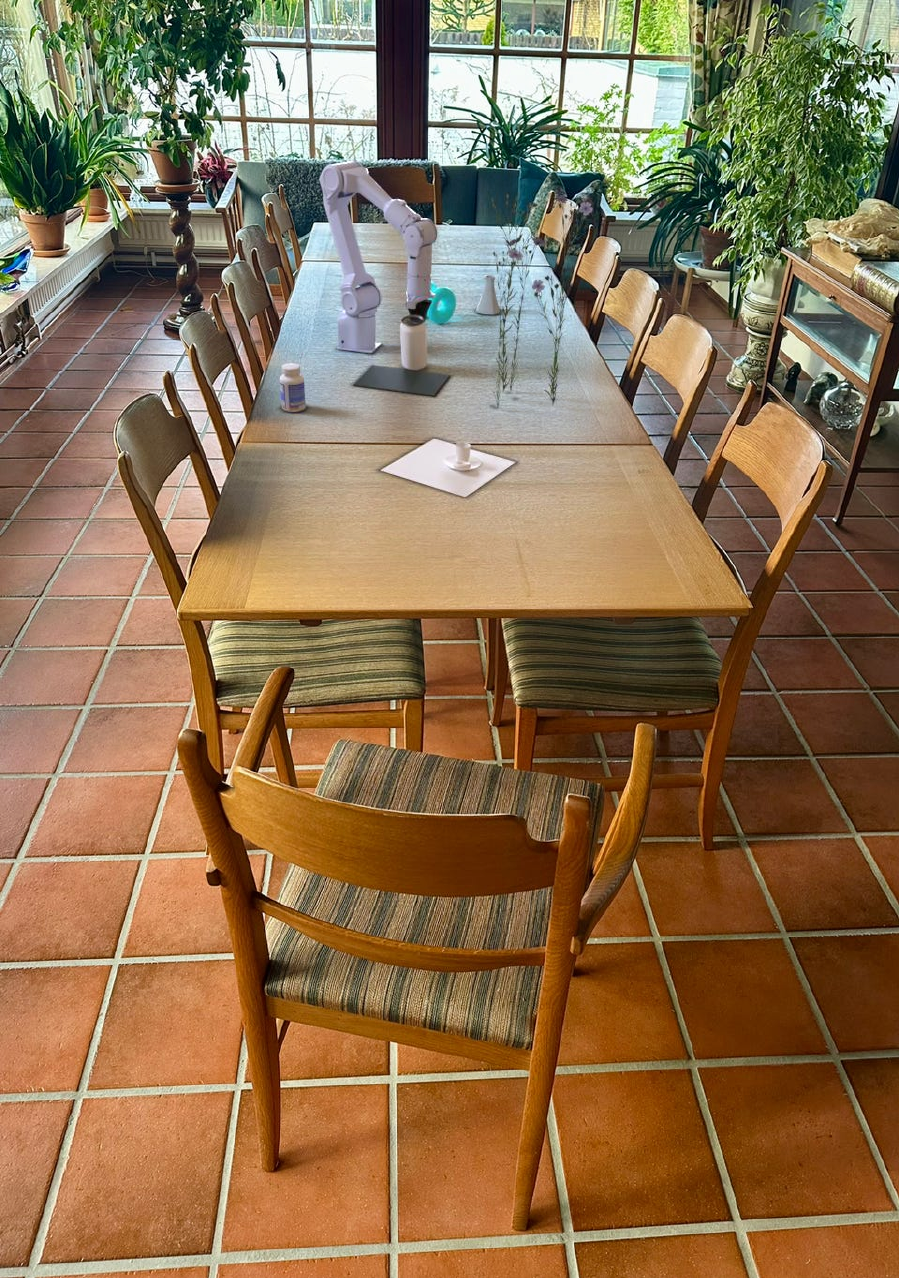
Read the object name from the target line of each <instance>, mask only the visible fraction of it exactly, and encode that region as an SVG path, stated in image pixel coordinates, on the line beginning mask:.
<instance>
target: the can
mask: <svg viewBox="0 0 899 1278" xmlns="http://www.w3.org/2000/svg"><path fill="white" fill-rule="evenodd" d="M400 321H401V323H400V325H399V337H400V358H401V365H402V367H403V369H405V370H412V371H420V370H423V369H424V368H426V367H427V365H428V334H427V324H426V321H425V322H424V318H423V317H422V316H419V315H410V314H407V315H405V316H403V317H402V318H401V320H400Z"/></svg>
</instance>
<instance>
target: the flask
mask: <svg viewBox="0 0 899 1278" xmlns="http://www.w3.org/2000/svg"><path fill="white" fill-rule="evenodd" d="M484 280H485V283H484V287H483V291H482V294H481V296H480V299H479V301H478V304H477V306H476V310H475V312H476V313H479V314H481V315H497V314H500V312H499V310H500V308H499V307H500V304H499V301H498V296H497V293H496V288H495V280H496V276H495V275H492V274H490V275H489V274H486V275H484Z"/></svg>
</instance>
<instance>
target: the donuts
mask: <svg viewBox="0 0 899 1278" xmlns="http://www.w3.org/2000/svg"><path fill="white" fill-rule="evenodd" d="M431 293H435V297H434V298H429V300H432V303H431V305H430V307H429V309H428V312H427V315H426V318H429V320H430V321H431V322H432V323H434V324H441V325H442V324H444V323H447V322H448V321H449V320H450V319H451V318H453V315H454V313H455V311H456V306H457V298H456V295H455V293H454V291H453V290H452V289H451V288H449V287H447V286H439V287H438V286H437V284H435V282H433V281H431ZM440 303H441V304H440ZM439 304H440V306H439Z"/></svg>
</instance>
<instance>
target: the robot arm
mask: <svg viewBox="0 0 899 1278" xmlns="http://www.w3.org/2000/svg"><path fill="white" fill-rule="evenodd" d="M318 179H319V183H320V186H321V187H320V188H321V190H322V196H323V197H322V199H323V201H322V202H323V208H324V210H325V214H326V218H327V221H328V224H329V228H330V231H331V235H332V238H333V242H334V245H335V249H336V253H337V255H338V259H339V263H340V266H341V270H342V273H343V277H344V278H343V280H342V282H341V284H340V286H339V291H340V304H341V307H342V309H343V311H341V312H340V313H339V315H338V319H337V347H336V349H337V350H342V351H347V352H355V353H356V352H357V353H364V354H373V353H374V352H375V351H376V350H377V349H378V348H379V347H380V346H381V342H378V341H376V340H377V338H376V336H377V334H376V331H377V330H376V329H377V328H376V324H377V323H376V321H377V320H376V317H377V315H376V314H377V312H378V308H379V307H380V305H381V304H382V301H383V296H382V292H381V290H380V288H379V287H378V285H377V284H376V281H375V278H374V276H372V275H371V274H370V273H368V272H367V271H366V269H365V264H364V262H363V261H364V260H363V257H362V255H361V250H360V246H359V244H358V240H357V236H356V233H355V229H354V225H353V222H352V218H351V215H350V211H349V207H348V206H349V204H350V202H351V200H352V198H353V197H354V195H356V194H360V195H361V196H363V197H364V198H365V199H367V200H368V201H369V202H371V203H372V204H373V205H374V206H376V207H377V208H379V209H380V210H381V211H382V212H383V218H384V221H386V222H387V223H388V224H389V225H390V226H392V227H393V229H395V230H396V231H397V232H398V233H399V234H400V235H402V239H403V242H404V244H405V248H406V253H407V283H406V284H407V291H406V299H407V300H406V301H405V307H406V309H407V311H408V314H409V315H419V316H422V317H423V318H424V322H425V323H426V319H427V317H426V315H427V312H428V309H429V307H430V305H431V303H432V300H429V298H434V297H435V293H431V282H432V265H433V263H432V260H433V244H434V243H435V242H436V241H437V239H438V229H437V226H436V224H435V223H434V222H433V221H432V219H430V218H422V216H421V215H420V214H419V213H416V212H415V211H414V210H413V209H411V208H410V206H408V205H407V204H408V203H407V202H406V200H404V199H399V198H396V199H395V198H394V199H393V198H392V197H391V196H390V195H389V194H388V193H387V192H386V191H385V190H384V188H382V187H381V186H380V185H379V184H378V183H377V181H376V180H375V179H374V178H372V176H370V174H369V171H368V168H366V167H364V166H363V165H362V164H361V163H360V162H359V161H357V160H350V161H346V162H341V163H334V164H332V163H331V164H327V165H325V167H324V168H323V169H322V172H321V174H320V176H319V178H318Z"/></svg>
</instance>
